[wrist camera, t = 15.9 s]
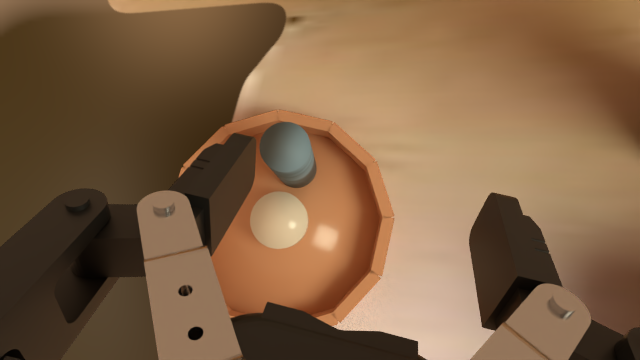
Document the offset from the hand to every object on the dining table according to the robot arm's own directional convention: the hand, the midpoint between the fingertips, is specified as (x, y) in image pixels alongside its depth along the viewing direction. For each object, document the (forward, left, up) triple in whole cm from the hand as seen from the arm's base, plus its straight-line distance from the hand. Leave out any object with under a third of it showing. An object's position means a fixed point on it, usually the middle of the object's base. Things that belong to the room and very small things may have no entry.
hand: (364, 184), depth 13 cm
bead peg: (+7, -5, -30) cm, 31 cm away
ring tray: (+7, +1, -31) cm, 31 cm away
